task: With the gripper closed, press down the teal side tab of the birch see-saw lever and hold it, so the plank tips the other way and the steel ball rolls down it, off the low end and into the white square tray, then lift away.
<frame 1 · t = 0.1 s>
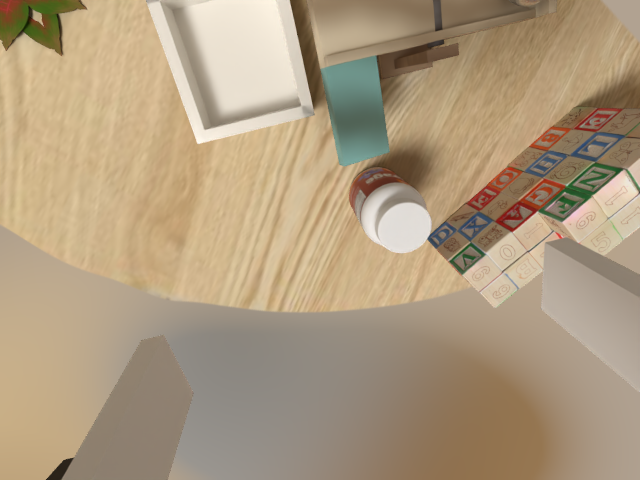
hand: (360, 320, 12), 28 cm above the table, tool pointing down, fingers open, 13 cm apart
lever: (443, 50, 26), point 9 cm above the table, hinge at -15.5°, touching ball
stack of blocks: (508, 192, 41), on the table
fulcrum: (399, 21, 33), on the table
pill bottle: (373, 192, 40), on the table
white square tray: (240, 60, 33), on the table
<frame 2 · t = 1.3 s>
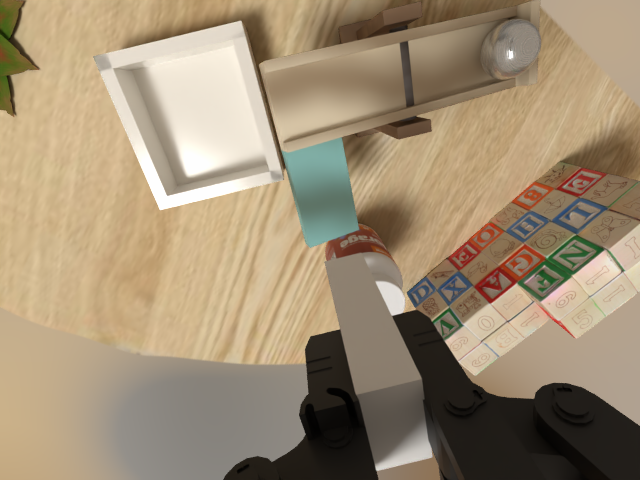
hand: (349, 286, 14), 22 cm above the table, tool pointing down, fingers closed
lever: (415, 126, 24), point 9 cm above the table, hinge at -15.2°, touching ball
stack of blocks: (491, 246, 40), on the table
ball: (509, 50, 23), point 8 cm above the table, tilted 9°, touching lever
fulcrum: (375, 78, 31), on the table
pill bottle: (352, 247, 38), on the table
white square tray: (207, 119, 31), on the table
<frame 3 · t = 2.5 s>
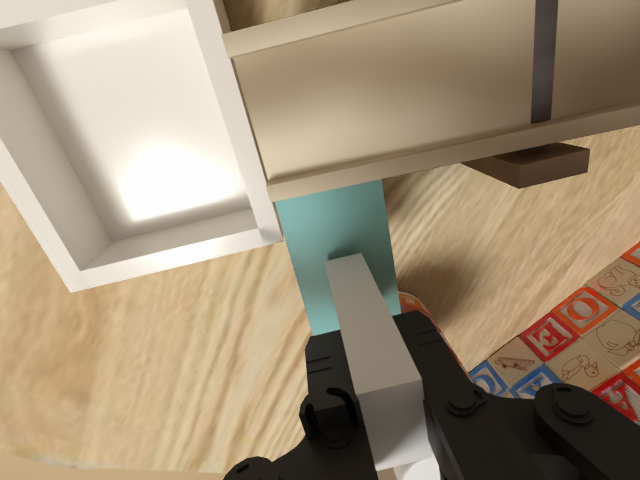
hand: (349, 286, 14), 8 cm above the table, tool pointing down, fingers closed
lever: (544, 163, 12), point 9 cm above the table, hinge at 5.9°, touching ball, gripper
stack of blocks: (582, 316, 27), on the table
fulcrum: (436, 67, 19), on the table
pill bottle: (384, 321, 25), on the table
white square tray: (154, 135, 19), on the table
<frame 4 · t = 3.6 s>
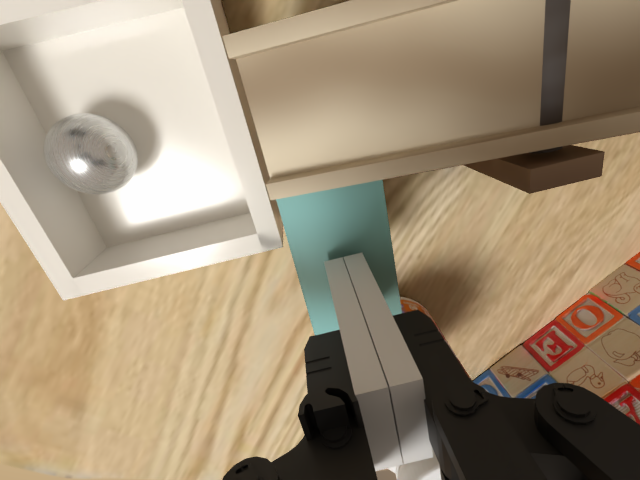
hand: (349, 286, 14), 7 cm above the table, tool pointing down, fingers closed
lever: (553, 167, 11), point 9 cm above the table, hinge at 10.9°, touching gripper
stack of blocks: (586, 323, 27), on the table
ball: (93, 154, 16), point 2 cm above the table, tilted 124°, touching white square tray
fulcrum: (439, 68, 18), on the table
pill bottle: (386, 328, 25), on the table
white square tray: (150, 138, 18), on the table
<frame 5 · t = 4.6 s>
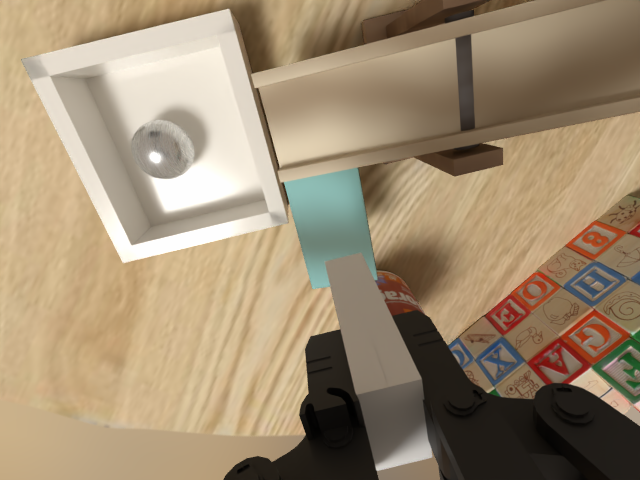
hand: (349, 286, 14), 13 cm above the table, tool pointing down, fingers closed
lever: (471, 158, 17), point 9 cm above the table, hinge at 10.9°
stack of blocks: (539, 298, 32), on the table
ball: (163, 150, 22), point 2 cm above the table, tilted 95°, touching white square tray
fulcrum: (407, 89, 24), on the table
pill bottle: (373, 298, 30), on the table
white square tray: (188, 142, 24), on the table
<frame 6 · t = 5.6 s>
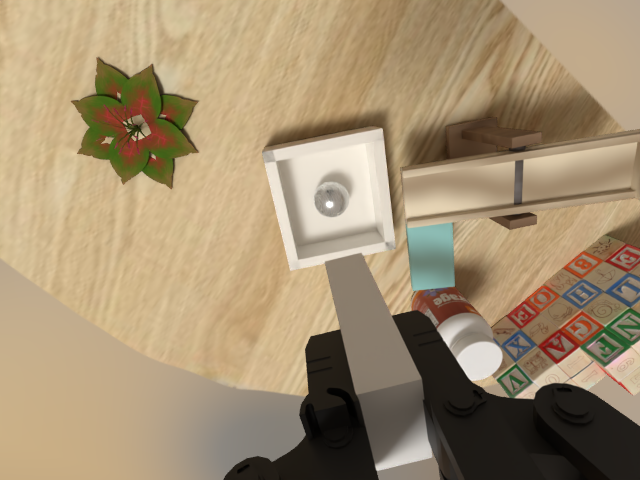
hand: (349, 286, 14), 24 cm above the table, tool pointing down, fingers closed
lever: (519, 220, 30), point 9 cm above the table, hinge at 10.9°
stack of blocks: (544, 304, 45), on the table
lily flower: (140, 127, 33), on the table
ball: (331, 199, 35), point 2 cm above the table, tilted 65°, touching white square tray
fulcrum: (470, 165, 37), on the table
pill bottle: (432, 299, 43), on the table
white square tray: (328, 194, 37), on the table
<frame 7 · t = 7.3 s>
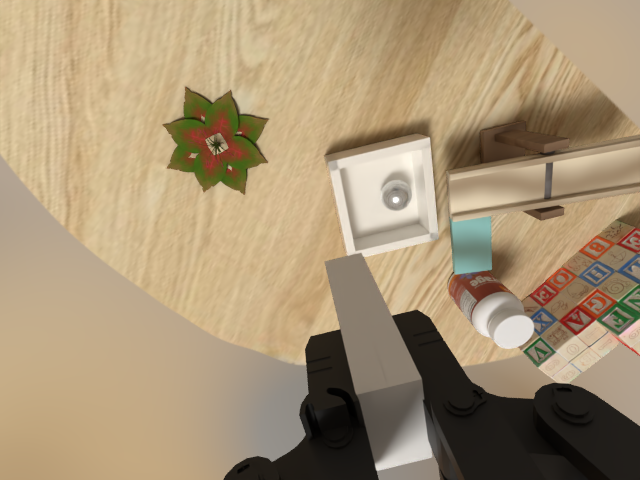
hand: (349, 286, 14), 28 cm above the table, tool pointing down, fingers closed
lever: (548, 212, 36), point 9 cm above the table, hinge at 10.9°
stack of blocks: (563, 283, 51), on the table
lily flower: (218, 143, 39), on the table
ball: (396, 195, 40), point 2 cm above the table, tilted 15°, touching white square tray
fulcrum: (500, 163, 42), on the table
pill bottle: (466, 282, 49), on the table
white square tray: (377, 193, 42), on the table
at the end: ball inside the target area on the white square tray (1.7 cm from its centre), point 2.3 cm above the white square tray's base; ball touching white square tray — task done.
